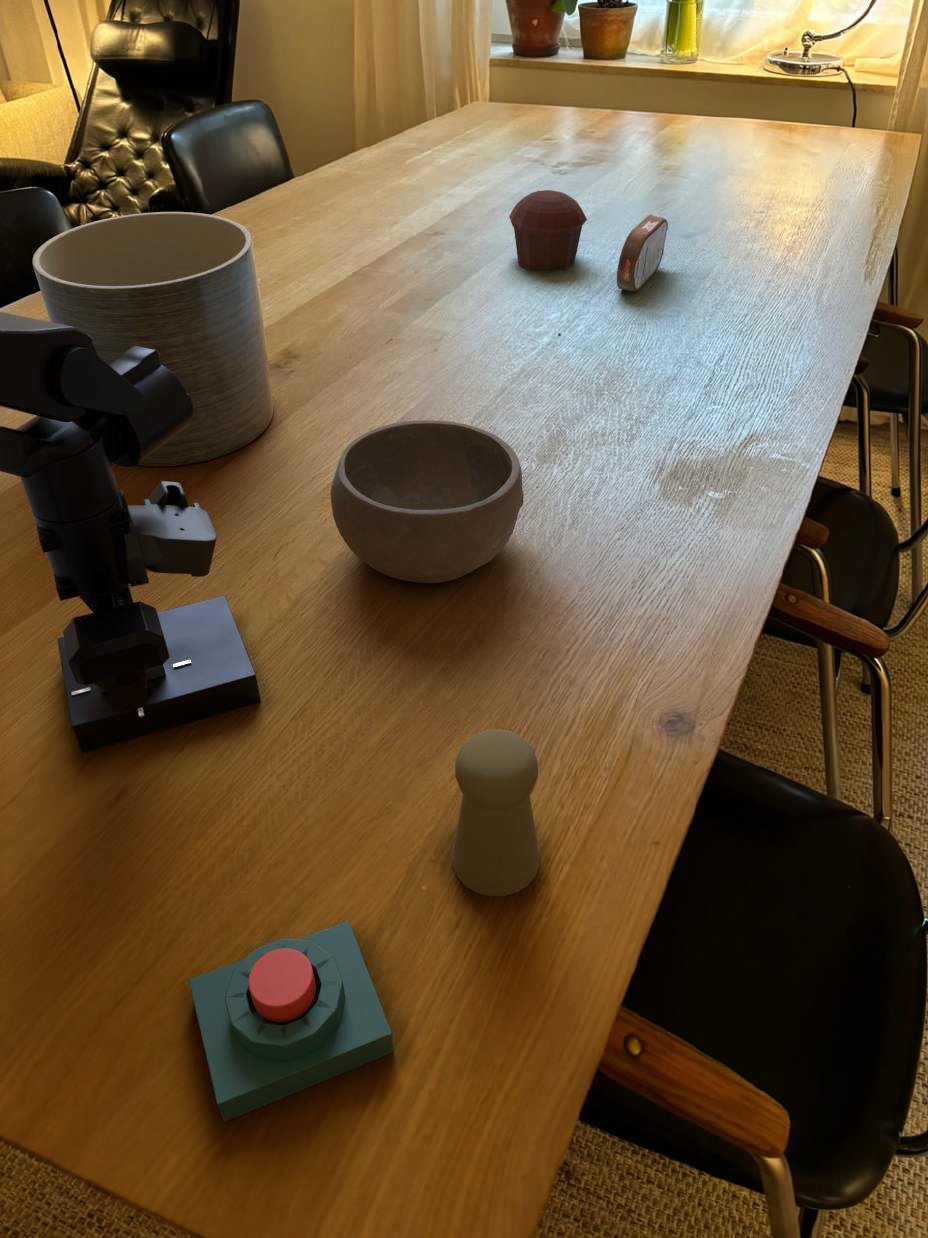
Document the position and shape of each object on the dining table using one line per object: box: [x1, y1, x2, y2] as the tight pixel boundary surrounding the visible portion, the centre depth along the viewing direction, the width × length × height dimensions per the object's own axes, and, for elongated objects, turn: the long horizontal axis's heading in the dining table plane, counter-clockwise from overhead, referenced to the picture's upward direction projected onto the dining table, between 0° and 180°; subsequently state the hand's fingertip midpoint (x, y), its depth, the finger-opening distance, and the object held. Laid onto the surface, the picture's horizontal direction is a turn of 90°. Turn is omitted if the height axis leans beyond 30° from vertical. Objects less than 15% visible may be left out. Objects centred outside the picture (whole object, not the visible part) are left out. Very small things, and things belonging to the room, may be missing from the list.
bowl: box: [330, 419, 525, 584], centre depth 92 cm, size 17×18×10 cm
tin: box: [616, 214, 669, 292], centre depth 143 cm, size 15×3×8 cm, turn 153°
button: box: [248, 948, 316, 1022], centre depth 56 cm, size 4×4×2 cm
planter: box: [32, 211, 274, 467], centre depth 109 cm, size 22×22×20 cm
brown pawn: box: [451, 728, 541, 897], centre depth 64 cm, size 6×6×11 cm
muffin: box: [508, 189, 588, 273], centre depth 149 cm, size 12×11×10 cm
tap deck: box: [56, 595, 262, 754], centre depth 80 cm, size 14×12×3 cm
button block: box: [188, 920, 395, 1123], centre depth 58 cm, size 10×8×4 cm
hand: (128, 668), depth 77 cm, fingers open, 9 cm apart
